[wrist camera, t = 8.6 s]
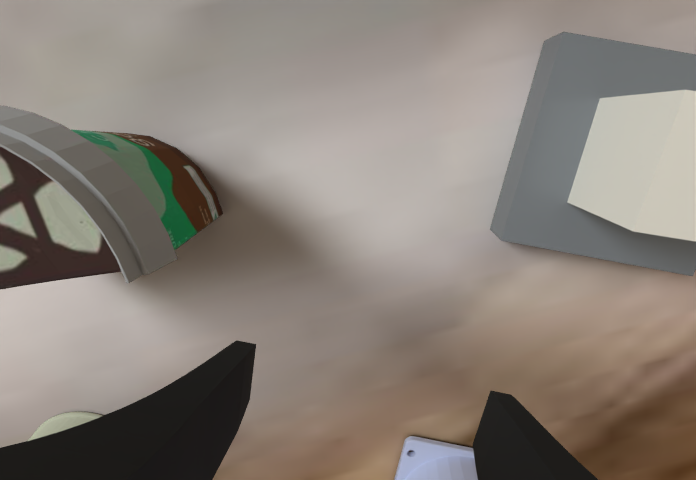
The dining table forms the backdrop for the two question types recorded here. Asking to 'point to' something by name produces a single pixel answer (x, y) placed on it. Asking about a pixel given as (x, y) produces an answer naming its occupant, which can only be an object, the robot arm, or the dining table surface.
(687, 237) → the block
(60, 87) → the dining table surface
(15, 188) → the food container
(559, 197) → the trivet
